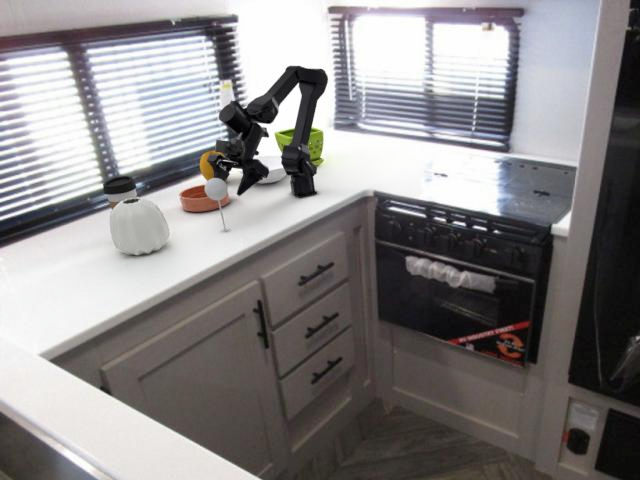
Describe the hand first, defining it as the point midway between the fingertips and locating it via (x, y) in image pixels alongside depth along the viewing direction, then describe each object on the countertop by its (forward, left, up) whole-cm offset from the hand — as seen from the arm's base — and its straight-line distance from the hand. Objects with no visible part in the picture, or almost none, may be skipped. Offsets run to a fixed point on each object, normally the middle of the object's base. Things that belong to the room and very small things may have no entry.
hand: (226, 193), depth 156 cm
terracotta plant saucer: (+2, -25, -10) cm, 27 cm away
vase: (+24, 0, -10) cm, 26 cm away
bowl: (-22, -36, -10) cm, 43 cm away
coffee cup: (+25, -16, -10) cm, 31 cm away
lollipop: (+3, +1, -10) cm, 11 cm away
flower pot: (-39, -46, -10) cm, 61 cm away
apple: (-7, -45, -10) cm, 46 cm away
